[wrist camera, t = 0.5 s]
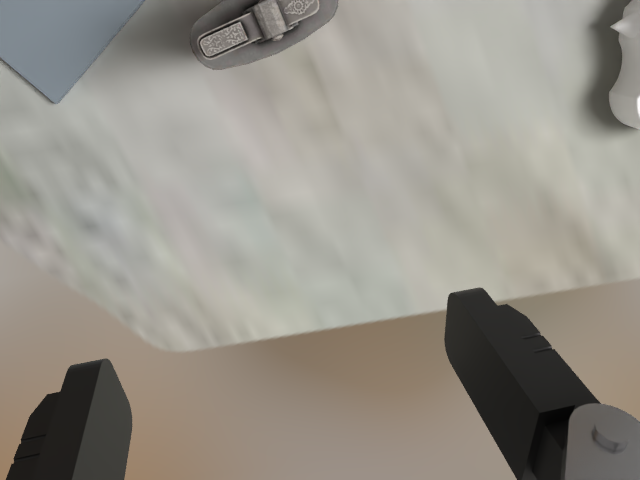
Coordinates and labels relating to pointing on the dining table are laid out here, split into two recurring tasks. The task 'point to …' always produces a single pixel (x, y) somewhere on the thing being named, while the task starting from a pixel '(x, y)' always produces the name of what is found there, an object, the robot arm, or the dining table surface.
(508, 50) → the dining table surface
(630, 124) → the white brass knuckles
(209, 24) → the lighter
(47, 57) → the pad
